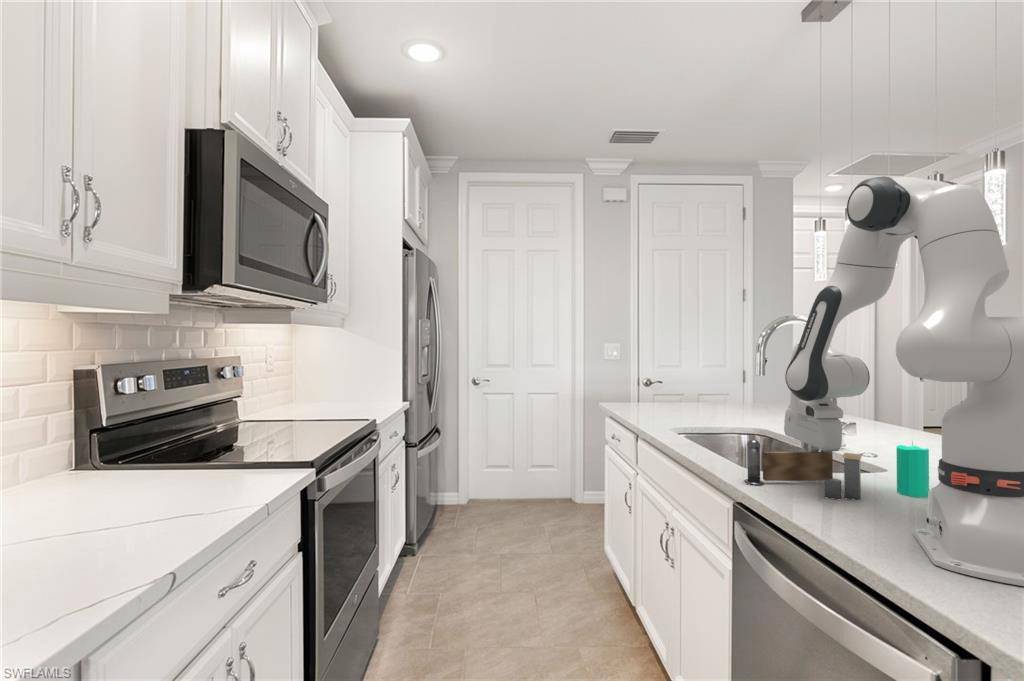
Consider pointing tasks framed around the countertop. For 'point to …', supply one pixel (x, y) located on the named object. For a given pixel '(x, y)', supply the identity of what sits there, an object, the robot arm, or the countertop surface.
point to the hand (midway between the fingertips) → (810, 461)
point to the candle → (912, 471)
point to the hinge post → (753, 463)
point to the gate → (797, 466)
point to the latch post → (846, 479)
